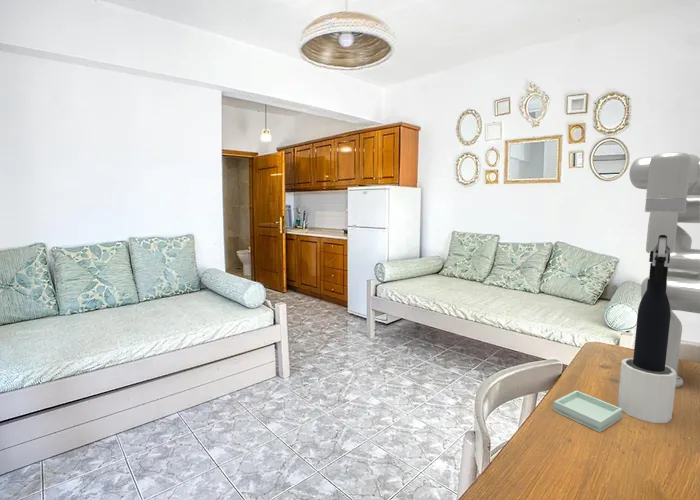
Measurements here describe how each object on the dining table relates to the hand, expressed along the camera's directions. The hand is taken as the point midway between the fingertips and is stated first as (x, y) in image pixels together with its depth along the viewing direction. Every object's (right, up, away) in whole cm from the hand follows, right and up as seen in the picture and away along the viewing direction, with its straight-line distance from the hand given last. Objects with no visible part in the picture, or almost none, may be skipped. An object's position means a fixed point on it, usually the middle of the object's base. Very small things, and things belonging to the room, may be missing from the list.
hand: (657, 280), depth 93 cm
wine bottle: (0, -22, +3) cm, 22 cm away
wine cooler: (0, -34, +4) cm, 34 cm away
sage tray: (-16, -34, +2) cm, 38 cm away
